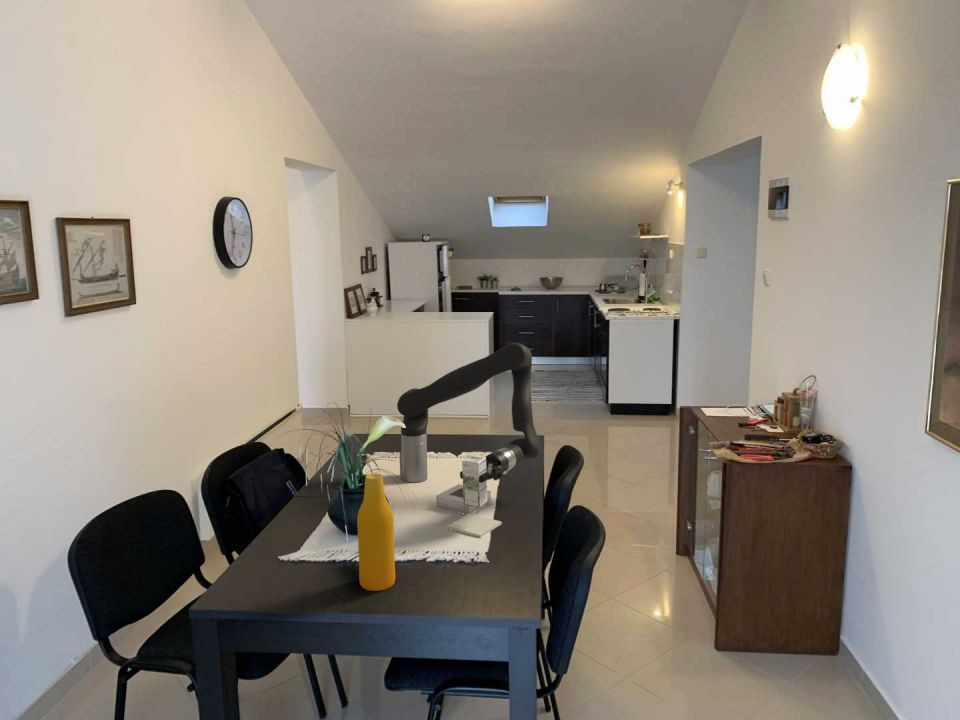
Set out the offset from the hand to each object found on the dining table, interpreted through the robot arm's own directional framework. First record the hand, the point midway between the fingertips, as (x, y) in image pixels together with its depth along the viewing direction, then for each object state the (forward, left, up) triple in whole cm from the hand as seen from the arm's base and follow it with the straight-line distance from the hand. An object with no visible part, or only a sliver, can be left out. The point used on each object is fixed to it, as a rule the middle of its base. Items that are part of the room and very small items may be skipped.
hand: (470, 477), depth 220 cm
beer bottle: (-1, -42, -17) cm, 45 cm away
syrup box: (0, +3, -9) cm, 9 cm away
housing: (-13, +15, -16) cm, 26 cm away
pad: (0, +2, -16) cm, 17 cm away
